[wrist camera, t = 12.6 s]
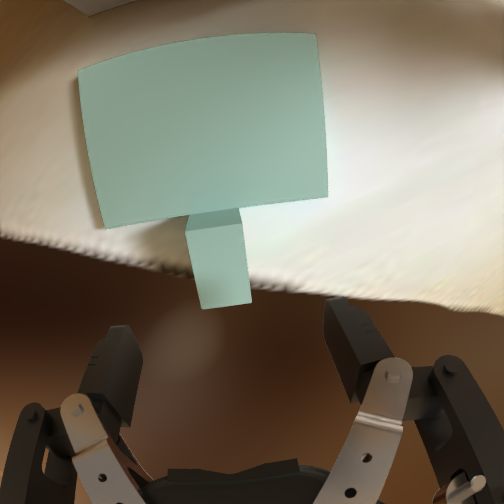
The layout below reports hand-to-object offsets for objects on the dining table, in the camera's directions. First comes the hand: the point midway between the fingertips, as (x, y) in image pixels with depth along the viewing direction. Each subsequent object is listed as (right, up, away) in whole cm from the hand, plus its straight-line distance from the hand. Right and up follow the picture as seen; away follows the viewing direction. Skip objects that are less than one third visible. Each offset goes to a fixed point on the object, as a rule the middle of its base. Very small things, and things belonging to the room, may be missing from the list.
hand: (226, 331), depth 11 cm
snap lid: (-2, +9, +6) cm, 11 cm away
